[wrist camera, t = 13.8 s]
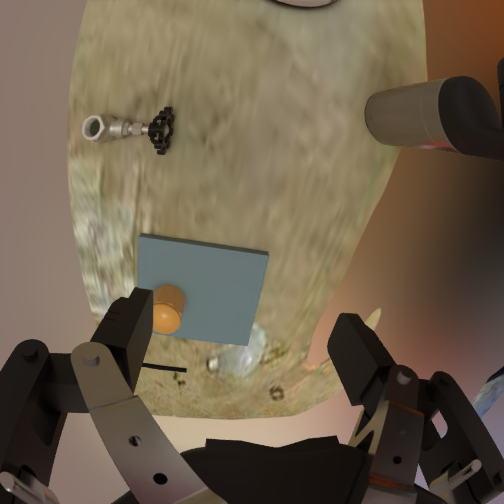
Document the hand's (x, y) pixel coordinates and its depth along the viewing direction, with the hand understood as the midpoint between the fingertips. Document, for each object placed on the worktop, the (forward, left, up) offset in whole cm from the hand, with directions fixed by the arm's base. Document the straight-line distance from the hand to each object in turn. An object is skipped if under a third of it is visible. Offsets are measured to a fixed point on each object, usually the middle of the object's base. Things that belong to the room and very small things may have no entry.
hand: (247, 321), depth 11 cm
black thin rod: (+10, +36, -31) cm, 49 cm away
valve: (+16, -8, -30) cm, 35 cm away
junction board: (+3, +17, -30) cm, 35 cm away
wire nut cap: (+8, +18, -29) cm, 35 cm away
